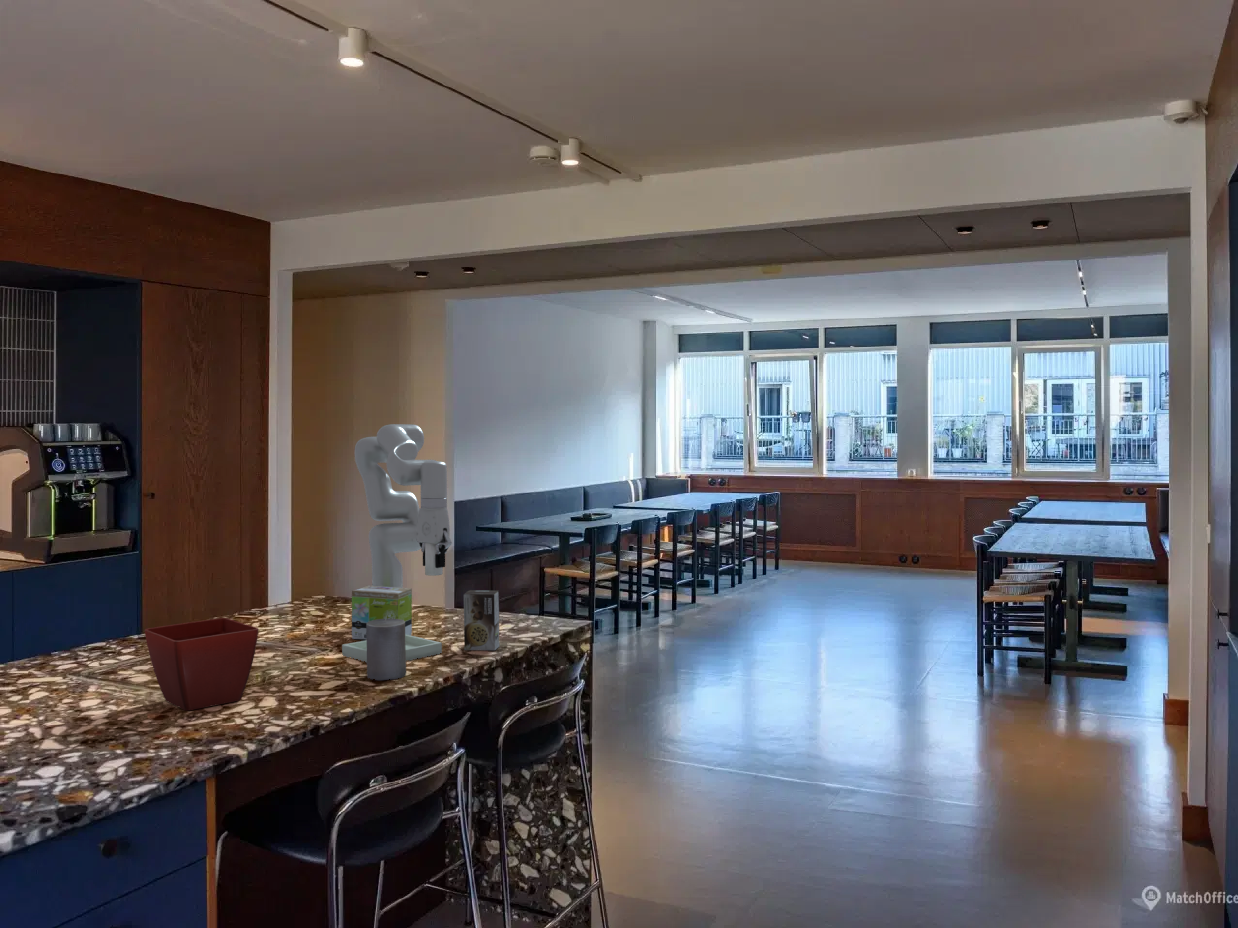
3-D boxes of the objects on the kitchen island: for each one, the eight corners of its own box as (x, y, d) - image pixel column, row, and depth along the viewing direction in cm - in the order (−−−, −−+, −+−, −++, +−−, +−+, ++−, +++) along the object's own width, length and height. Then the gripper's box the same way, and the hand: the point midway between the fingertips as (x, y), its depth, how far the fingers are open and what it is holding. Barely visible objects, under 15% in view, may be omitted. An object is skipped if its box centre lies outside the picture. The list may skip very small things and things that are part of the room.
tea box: (350, 640, 298) (350, 590, 297) (367, 633, 307) (366, 584, 307) (397, 643, 294) (397, 592, 293) (412, 635, 304) (412, 586, 303)
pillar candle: (384, 669, 263) (383, 611, 262) (414, 673, 258) (413, 615, 257) (358, 678, 254) (357, 618, 253) (388, 682, 250) (387, 622, 249)
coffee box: (500, 645, 291) (500, 590, 290) (495, 650, 284) (495, 593, 284) (468, 645, 292) (468, 589, 291) (463, 650, 285) (463, 593, 284)
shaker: (420, 574, 294) (420, 534, 293) (435, 572, 298) (435, 533, 298) (432, 576, 290) (432, 536, 290) (447, 574, 295) (447, 534, 294)
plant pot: (143, 700, 233) (142, 627, 232) (225, 685, 246) (225, 616, 245) (176, 718, 219) (175, 640, 218) (261, 701, 232) (260, 628, 232)
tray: (342, 655, 278) (342, 644, 277) (402, 643, 293) (402, 633, 293) (381, 666, 266) (381, 654, 266) (441, 653, 281) (441, 642, 281)
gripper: (405, 503, 296) (405, 564, 297) (442, 506, 285) (442, 570, 286) (425, 501, 302) (425, 562, 303) (463, 504, 291) (463, 568, 291)
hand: (433, 565), depth 294 cm, fingers closed on shaker, 5 cm apart
